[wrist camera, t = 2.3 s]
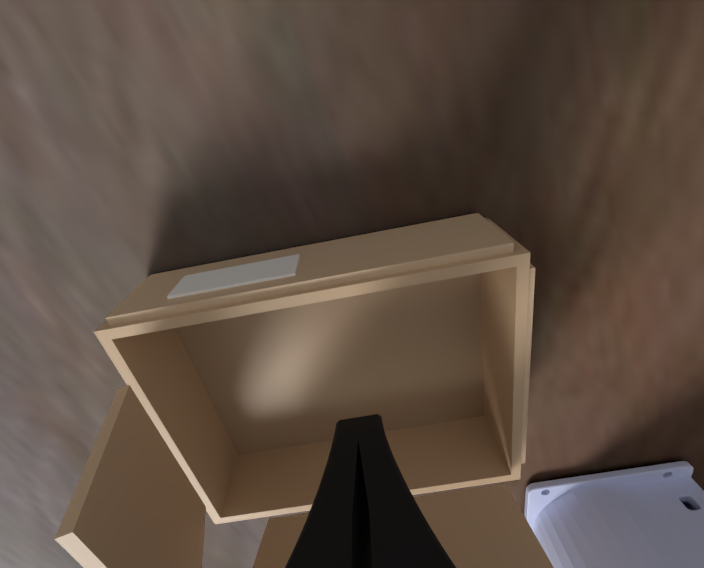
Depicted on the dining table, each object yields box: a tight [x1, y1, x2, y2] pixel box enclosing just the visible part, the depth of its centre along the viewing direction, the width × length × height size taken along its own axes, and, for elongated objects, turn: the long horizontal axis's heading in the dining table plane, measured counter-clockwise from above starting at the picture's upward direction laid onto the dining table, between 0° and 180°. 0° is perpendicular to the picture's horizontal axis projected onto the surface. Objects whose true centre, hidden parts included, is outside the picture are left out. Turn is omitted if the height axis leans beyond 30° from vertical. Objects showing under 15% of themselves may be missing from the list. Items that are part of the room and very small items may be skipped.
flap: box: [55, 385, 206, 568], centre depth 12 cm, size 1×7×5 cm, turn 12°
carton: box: [94, 213, 535, 524], centre depth 15 cm, size 14×11×4 cm
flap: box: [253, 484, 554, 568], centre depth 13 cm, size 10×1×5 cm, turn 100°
